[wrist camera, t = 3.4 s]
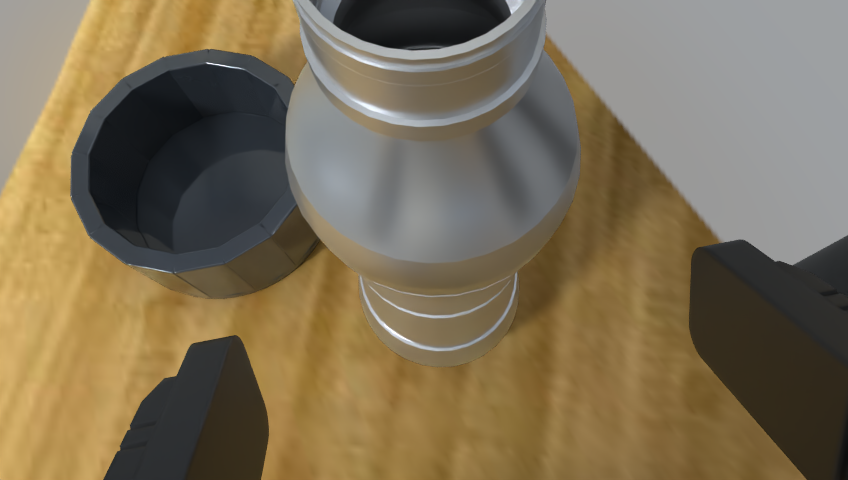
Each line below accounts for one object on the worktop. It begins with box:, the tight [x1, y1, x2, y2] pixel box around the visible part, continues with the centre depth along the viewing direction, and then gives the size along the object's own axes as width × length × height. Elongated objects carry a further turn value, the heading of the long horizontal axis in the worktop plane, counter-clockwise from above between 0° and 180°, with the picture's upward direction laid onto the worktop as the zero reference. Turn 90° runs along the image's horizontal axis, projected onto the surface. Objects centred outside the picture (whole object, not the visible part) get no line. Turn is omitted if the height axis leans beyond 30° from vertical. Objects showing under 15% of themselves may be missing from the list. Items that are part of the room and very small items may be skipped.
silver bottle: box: [285, 0, 581, 367], centre depth 17 cm, size 6×7×20 cm
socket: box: [70, 49, 320, 299], centre depth 27 cm, size 10×10×4 cm
